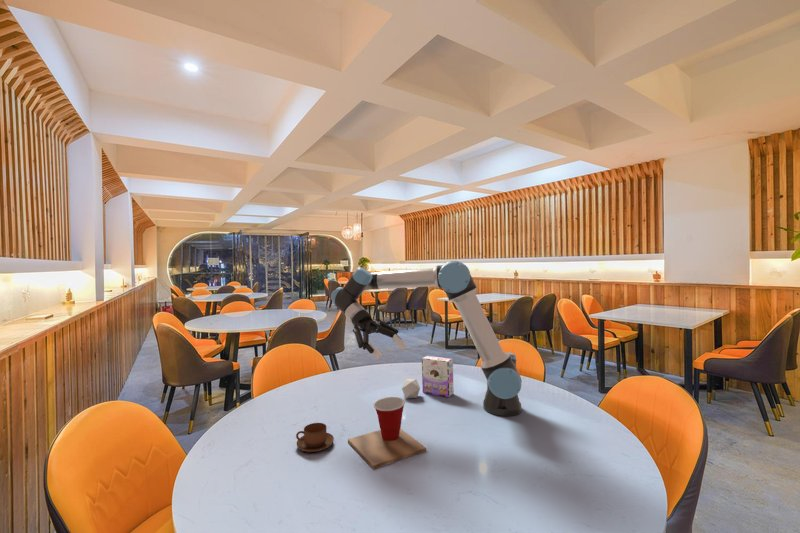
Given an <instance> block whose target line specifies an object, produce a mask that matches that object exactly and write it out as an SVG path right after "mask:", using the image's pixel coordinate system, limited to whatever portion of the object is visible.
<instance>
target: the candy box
mask: <svg viewBox="0 0 800 533" xmlns="http://www.w3.org/2000/svg"><path fill="white" fill-rule="evenodd" d="M421 375H422V376H421V377H422V383H421V384H422V393H423V394H424V393H425V394H428V395H434V396H440V397H446V398H450V397H452V396H453V395H454V394H455V393H454V392H455V391H454V389H455V388H454V359H453V358H450V357H449V358H448V357H441V356H432V355H426V356H423V357H422V358H421Z"/></svg>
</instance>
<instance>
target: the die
mask: <svg viewBox="0 0 800 533" xmlns="http://www.w3.org/2000/svg"><path fill="white" fill-rule="evenodd" d="M401 390H402V393H403V396H404V398H405V399H418V395H419V393H420V390H421V386H420V384H419V382H418V380H417V378H405V380H404V382H403V384H402V387H401Z"/></svg>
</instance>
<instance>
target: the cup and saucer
mask: <svg viewBox="0 0 800 533" xmlns="http://www.w3.org/2000/svg"><path fill="white" fill-rule="evenodd" d="M300 434H302V435H303V436H301V437H299V435H300ZM295 438H296V439H297V441H296V447H297V448H298V449H299V450H301V451H303V452H307V453H316V452H320V451H323V450H326V449H328V448H329V447H331V446H332V444H333V443H334V441H335V440H334V439H335V438H334V436H333V434H331V433H329V432H327V425H326V424H325V423H323V422H314V423H312V422H311V423H309V424H307V425H305V426H304V428H303V430H300V431H297V433H296V435H295Z"/></svg>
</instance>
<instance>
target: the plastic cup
mask: <svg viewBox="0 0 800 533" xmlns="http://www.w3.org/2000/svg"><path fill="white" fill-rule="evenodd" d="M405 404H406V400H405V399H404V398H402V397H398V396H388V397H382V398H380V399H377V400H376V401H374V402H373V407H374V409H375V411H376V414H377V418H378V419H377V420H378V424H379V425H378V426H379V430H381V435H382V438H383V439H384V440H386V441H394V440H396V439H398V437H399V433H400V429H401V426H402V418H403V412H404V408H405Z"/></svg>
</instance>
